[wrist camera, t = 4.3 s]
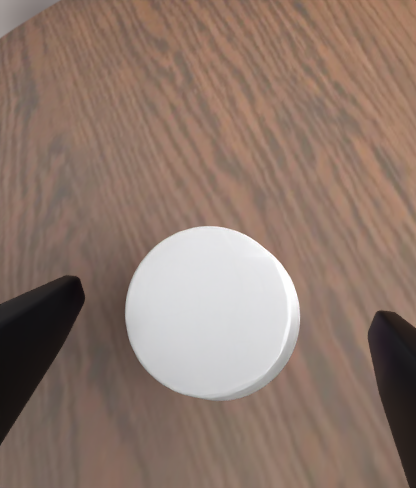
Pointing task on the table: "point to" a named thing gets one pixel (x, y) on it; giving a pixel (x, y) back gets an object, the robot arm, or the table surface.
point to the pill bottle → (212, 314)
